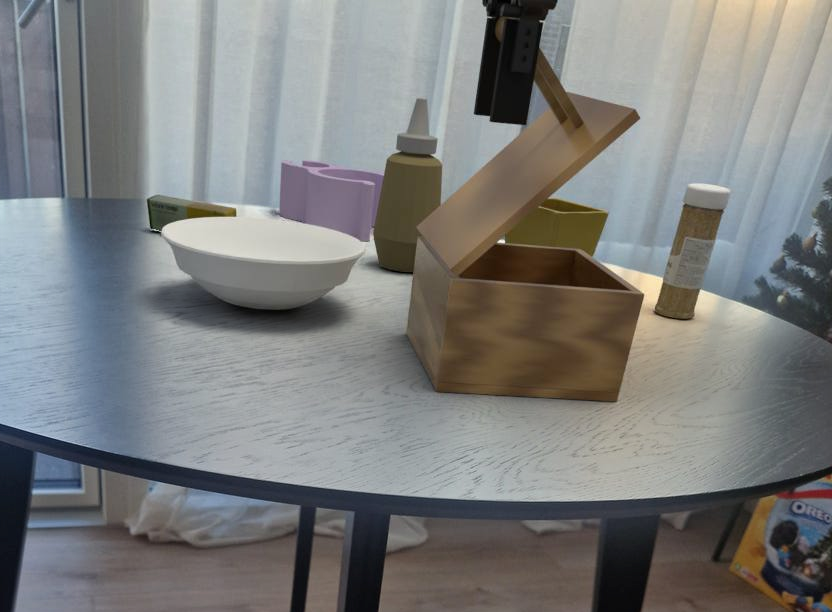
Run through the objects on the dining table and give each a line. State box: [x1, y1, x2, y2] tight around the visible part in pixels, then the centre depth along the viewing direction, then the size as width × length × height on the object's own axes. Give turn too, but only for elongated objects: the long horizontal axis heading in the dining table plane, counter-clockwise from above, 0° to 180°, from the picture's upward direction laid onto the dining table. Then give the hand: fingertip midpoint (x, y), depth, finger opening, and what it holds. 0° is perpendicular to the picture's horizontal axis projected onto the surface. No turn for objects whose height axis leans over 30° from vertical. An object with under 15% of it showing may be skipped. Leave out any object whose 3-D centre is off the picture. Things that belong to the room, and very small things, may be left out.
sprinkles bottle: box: [654, 182, 731, 320], centre depth 102 cm, size 5×5×13 cm
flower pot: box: [504, 197, 610, 258], centre depth 110 cm, size 9×9×9 cm
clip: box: [278, 159, 384, 242], centre depth 131 cm, size 20×12×7 cm, turn 43°
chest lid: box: [416, 16, 641, 277], centre depth 73 cm, size 16×17×10 cm
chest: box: [405, 236, 645, 403], centre depth 81 cm, size 16×17×9 cm
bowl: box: [160, 216, 367, 311], centre depth 91 cm, size 20×20×6 cm
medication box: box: [146, 194, 238, 231], centre depth 115 cm, size 12×3×4 cm, turn 63°
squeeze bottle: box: [372, 97, 443, 273], centre depth 108 cm, size 8×8×18 cm
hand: (499, 118), depth 72 cm, fingers closed on chest lid, 5 cm apart
